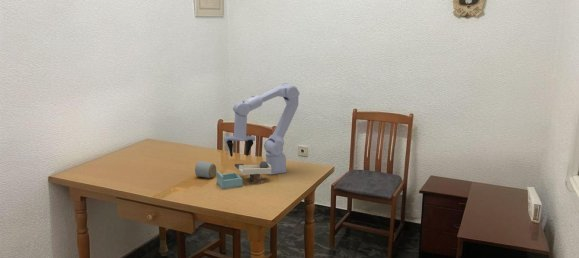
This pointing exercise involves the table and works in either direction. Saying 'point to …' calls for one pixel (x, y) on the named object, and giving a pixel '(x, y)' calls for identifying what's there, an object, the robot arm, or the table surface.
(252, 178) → the lever stand
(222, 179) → the bin
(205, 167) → the ceramic mug
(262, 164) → the ball
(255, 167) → the cream piece
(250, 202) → the table surface
